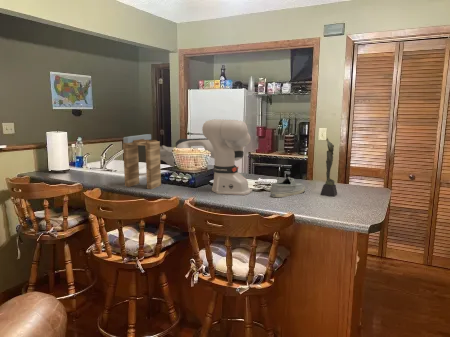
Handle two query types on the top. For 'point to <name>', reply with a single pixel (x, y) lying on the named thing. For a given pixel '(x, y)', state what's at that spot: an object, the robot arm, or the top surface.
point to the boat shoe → (286, 188)
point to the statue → (329, 186)
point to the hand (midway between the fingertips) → (156, 146)
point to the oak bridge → (133, 163)
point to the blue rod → (136, 138)
